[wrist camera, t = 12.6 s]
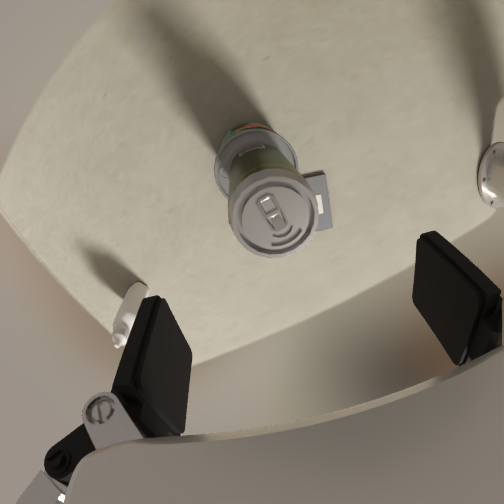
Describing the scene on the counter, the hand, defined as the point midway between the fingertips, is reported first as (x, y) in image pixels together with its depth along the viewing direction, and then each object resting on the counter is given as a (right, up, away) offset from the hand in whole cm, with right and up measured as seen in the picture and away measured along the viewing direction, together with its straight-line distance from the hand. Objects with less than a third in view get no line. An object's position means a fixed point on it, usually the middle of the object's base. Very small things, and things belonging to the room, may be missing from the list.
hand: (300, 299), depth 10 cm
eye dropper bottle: (-20, -5, +36) cm, 42 cm away
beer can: (-1, +9, +17) cm, 20 cm away
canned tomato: (-2, +14, +27) cm, 31 cm away
